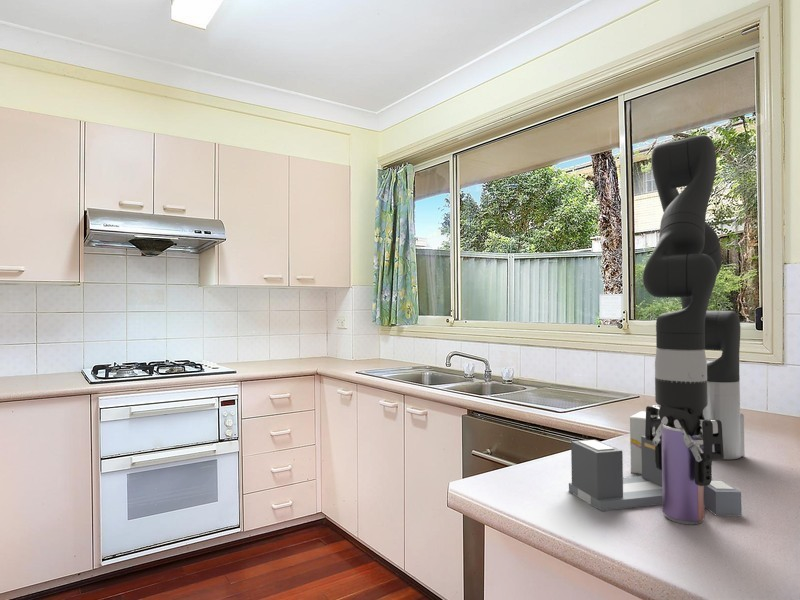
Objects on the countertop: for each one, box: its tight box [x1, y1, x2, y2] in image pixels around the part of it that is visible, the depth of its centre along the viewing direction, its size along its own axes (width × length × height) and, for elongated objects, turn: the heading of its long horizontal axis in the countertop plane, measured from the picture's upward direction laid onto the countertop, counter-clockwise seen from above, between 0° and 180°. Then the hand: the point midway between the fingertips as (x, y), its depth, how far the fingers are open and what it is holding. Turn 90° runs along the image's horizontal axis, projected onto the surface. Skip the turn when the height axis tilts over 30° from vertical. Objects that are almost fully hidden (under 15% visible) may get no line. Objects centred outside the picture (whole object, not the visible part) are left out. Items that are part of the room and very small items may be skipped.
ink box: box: [629, 410, 655, 475], centre depth 110 cm, size 9×8×12 cm
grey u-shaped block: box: [568, 436, 663, 512], centre depth 96 cm, size 20×10×10 cm, turn 103°
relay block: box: [704, 479, 743, 517], centre depth 90 cm, size 6×4×4 cm, turn 176°
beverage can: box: [661, 424, 705, 526], centre depth 86 cm, size 6×6×15 cm
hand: (681, 476), depth 86 cm, fingers open, 8 cm apart
